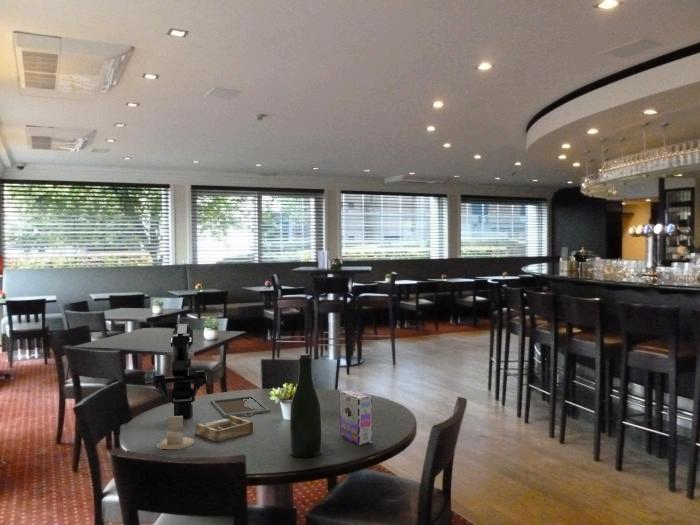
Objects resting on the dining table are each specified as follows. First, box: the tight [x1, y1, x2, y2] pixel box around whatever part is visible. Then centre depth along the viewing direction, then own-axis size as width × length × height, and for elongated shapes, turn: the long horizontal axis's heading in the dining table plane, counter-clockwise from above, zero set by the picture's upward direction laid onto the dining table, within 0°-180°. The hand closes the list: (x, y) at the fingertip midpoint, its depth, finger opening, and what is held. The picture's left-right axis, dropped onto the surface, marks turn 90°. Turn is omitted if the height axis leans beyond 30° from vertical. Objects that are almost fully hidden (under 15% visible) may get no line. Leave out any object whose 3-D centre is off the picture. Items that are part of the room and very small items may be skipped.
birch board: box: [166, 415, 184, 445], centre depth 201 cm, size 3×5×9 cm, turn 102°
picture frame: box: [210, 395, 271, 419], centre depth 248 cm, size 19×2×30 cm
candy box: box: [339, 388, 373, 446], centre depth 205 cm, size 14×6×16 cm, turn 30°
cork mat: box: [157, 436, 195, 450], centre depth 201 cm, size 13×13×1 cm
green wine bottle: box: [289, 353, 323, 459], centre depth 190 cm, size 10×10×33 cm
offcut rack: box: [195, 415, 254, 443], centre depth 213 cm, size 14×16×4 cm
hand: (180, 399), depth 209 cm, fingers open, 9 cm apart
